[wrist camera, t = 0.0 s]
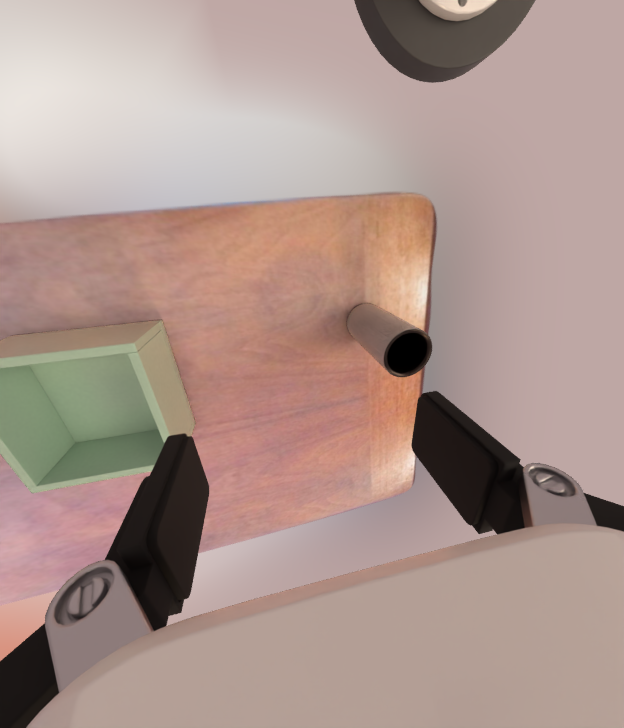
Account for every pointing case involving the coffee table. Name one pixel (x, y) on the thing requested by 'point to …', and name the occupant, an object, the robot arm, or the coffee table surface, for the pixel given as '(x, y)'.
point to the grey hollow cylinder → (390, 339)
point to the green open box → (89, 403)
